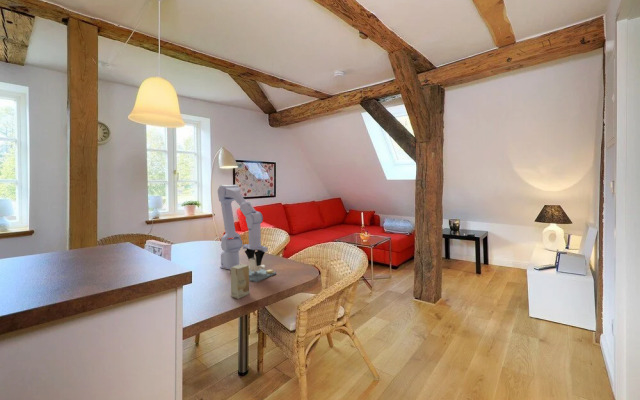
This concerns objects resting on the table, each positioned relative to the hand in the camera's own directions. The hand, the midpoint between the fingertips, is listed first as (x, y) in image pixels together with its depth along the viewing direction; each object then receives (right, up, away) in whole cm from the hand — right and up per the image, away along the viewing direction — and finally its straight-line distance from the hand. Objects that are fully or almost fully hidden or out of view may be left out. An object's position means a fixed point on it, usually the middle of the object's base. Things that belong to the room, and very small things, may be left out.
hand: (255, 264), depth 148 cm
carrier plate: (0, -5, 0) cm, 5 cm away
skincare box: (-1, -8, -25) cm, 26 cm away
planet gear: (0, -2, 0) cm, 2 cm away
